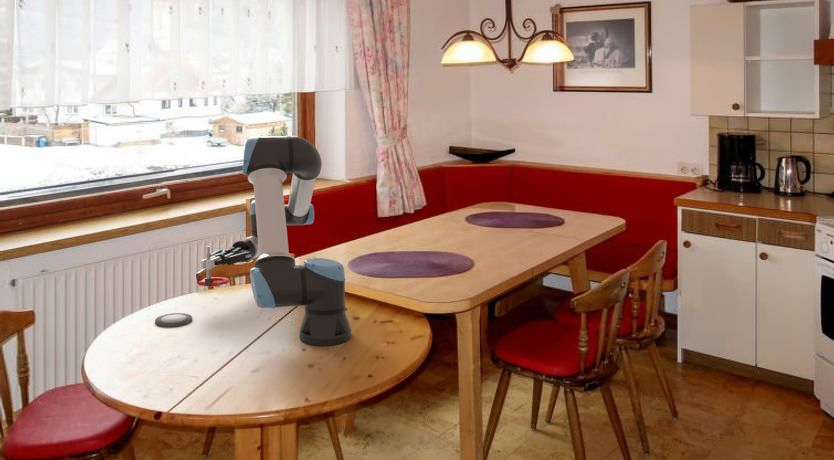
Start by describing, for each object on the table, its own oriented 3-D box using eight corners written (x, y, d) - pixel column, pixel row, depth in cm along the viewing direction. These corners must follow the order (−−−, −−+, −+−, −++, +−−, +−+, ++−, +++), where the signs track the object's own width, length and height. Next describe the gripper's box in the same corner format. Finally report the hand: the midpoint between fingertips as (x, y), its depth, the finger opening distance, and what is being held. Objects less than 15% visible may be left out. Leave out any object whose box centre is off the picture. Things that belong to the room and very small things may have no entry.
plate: (185, 327, 226) (185, 324, 226) (149, 326, 226) (149, 324, 226) (196, 315, 237) (196, 312, 236) (162, 315, 237) (162, 312, 236)
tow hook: (210, 279, 244) (195, 285, 236) (209, 241, 242) (194, 246, 234) (233, 281, 243) (219, 288, 234) (233, 242, 240) (219, 247, 232)
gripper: (265, 261, 252) (224, 278, 231) (229, 258, 257) (186, 274, 235) (264, 240, 251) (223, 255, 229) (228, 236, 256) (185, 251, 234)
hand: (204, 265), depth 232 cm, fingers closed on tow hook
